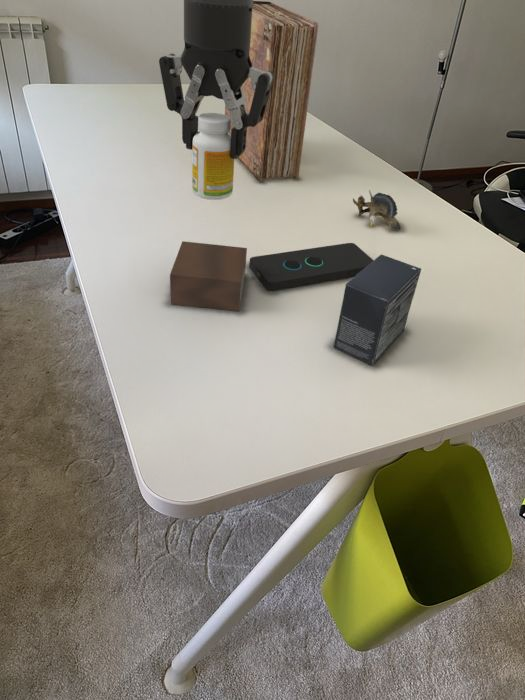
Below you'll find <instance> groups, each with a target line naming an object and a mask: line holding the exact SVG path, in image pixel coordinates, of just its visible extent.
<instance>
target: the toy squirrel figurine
mask: <svg viewBox="0 0 525 700" xmlns="http://www.w3.org/2000/svg"><path fill="white" fill-rule="evenodd" d="M368 194H369V196H370V201H367V202H365V201H366V199H365V197H364V196H363V195H362V194H360V196H358V198H357V200H356V199H355V198H352V202H353V204H354V205H355V206H356V207H357V209H358V216H359V217H362V215H364V214H366V213H369V219H370V221H369V222H370V224H369V227H372V226H373V225H374V224H375V222H376V218H377V217H380V218H382V219H384V221H385V222H386V223H387V224H388V226H389V227H390V229H391V230H392V231H394V232H395V231H396V232H400V231H401V228H402V227H401V225H400V224H401V223H399V220H398V219H397V218H396V216H397V215H398V207H397V202H396V201H395V200H394V198H393V197H392V196H391V195H390V194H386V193H382V192H378V193H375V194H372V192H371V190H368ZM363 208H364V209H363Z"/></svg>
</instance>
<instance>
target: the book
mask: <svg viewBox="0 0 525 700" xmlns="http://www.w3.org/2000/svg"><path fill="white" fill-rule="evenodd" d="M318 32H319V22H317V21H315V20H313V19H310V18H308V17H306V16H303V15H301V14H299V13H296V12H295V11H292V10H289V9H287V8H285V7H283V6H280V5H278V4H276V3H274V2H272V1H263V0H262V1H261V0H253V7H252V22H251V38H250V50H249V56H250V60H251V63H252V67H255V68H257V69H260V70H262V71H265V72H266V71H272V72H273V73H274V80H273V84H272V88H271V91H270V95H269V99H268V102H267V106H266V110H265V113H264V117H263V120H262V121H261V122H259V123H258V124H257V125H256V126H254V127H251V126H250V127H247V136H246V149H245V151H244V152H243V153H242V154H241V155H240V156H239V157H238V158H237V159H238V160H239V161H240V162H241V163H242V164H243V166H245V168H246V169H247V170H248V171H249V172H250V173H251V174H252V175H253V177H254V178H255V179H256V180H257V181H258V182H259V183H262V181H263V180H265V179H280V178H294V179H295V180H298V179H299V176H300V170H301V162H302V155H303V154H302V153H303V147H304V139H305V131H306V123H307V115H308V108H309V100H310V92H311V85H312V84H311V83H312V77H313V68H314V61H315V54H316V45H317V39H318ZM251 84H252V81H251V78H250V77H248V78H247V80H246V81H245V82H244V83H243V85H242V89H243V93H244V96H245V106H246V109H247V113H248V114H249V112H250V108H251V104H252V100H253V96H254V92H255V90H254V89H253V88H252V85H251ZM224 115H226V116H228V117H230V119H231V116H230V112H229V111H228V110H227V108H226V105H225V104H224ZM233 127H234V125H233V122H232V119H231V128H230V131H229V132H228V133H229V134H230V135H231V129H232V128H233Z"/></svg>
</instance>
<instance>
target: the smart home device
mask: <svg viewBox="0 0 525 700" xmlns="http://www.w3.org/2000/svg"><path fill="white" fill-rule="evenodd" d="M374 260H375V259H372V257H370V256H369V255H368V254H367V252H365V251H363V249H362V248H360V247H359V246H358V245H357V244H356V243H354V242H346V243H339V244H331V245H324V246H319V247H311V248H304V249H298V250H292V251H291V250H289V251H284V252H283V251H282V252H276V253H270V254H264V255H256V256H252V257H250V258H249V262H248V263H249V265H248V268H249V269H250V270H251V272H252V273H253V274H254V275H255V277H256V278H257V280H258V281H259V282H260V283H261V284H262V286H263V287H264V288H265V290H266V291H268V292H269V291H272V292H273V291H280V290H285V289H291V288H296V287H303V286H309V285H314V284H315V285H316V284H320V283H327V282H331V281H337V280H343V279H349V278H354V277H355V276H356V275H357V274H358V273H360V272H361V271H362V270H363V269H364V268H366V267H367V266H368V265H369V264H370V263H371V262H373V261H374Z"/></svg>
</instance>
